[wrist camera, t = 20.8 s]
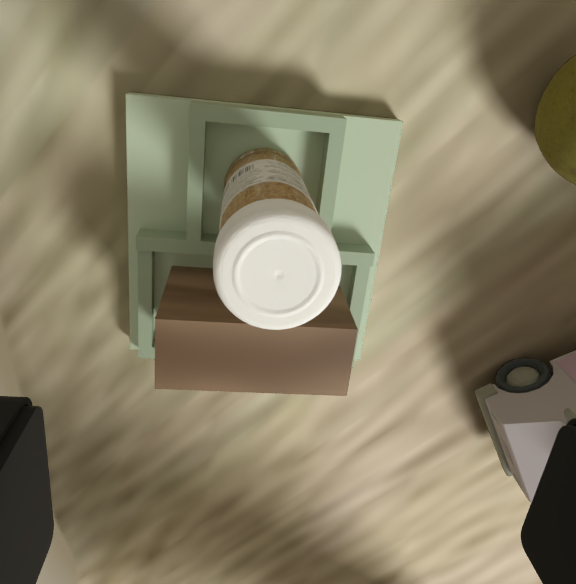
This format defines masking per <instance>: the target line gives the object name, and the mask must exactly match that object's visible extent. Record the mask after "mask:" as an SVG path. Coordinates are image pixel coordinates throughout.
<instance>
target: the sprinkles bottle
mask: <svg viewBox="0 0 576 584" xmlns="http://www.w3.org/2000/svg"><path fill="white" fill-rule="evenodd" d="M213 278H214V283H215V287H216V290H217V293H218V295H219V297H220V299H221V300H222V302H223V303H224V305H225V306H226V307H227V308H228V310H229V311H230V312H231V313H233V314H234V315H235V316H236V317H238V318H239V319H241V320H242V321H244V322H246V323H248V324H250V325H252V326H256V327H259V328H263V329H271V330H281V329H289V328H293V327H296V326H299V325H302V324H304V323H306V322H308V321H310V320H312V319H313V318H315V317H316V316H317V315H319V314H320V313H321V312H322V311H323V310H324V309H325V308H326V307H327V306H328V305H329V303H330V302H331V300H332V299H333V297H334V295H335V293H336V291H337V289H338V286H339V282H340V278H341V258H340V253H339V250H338V247H337V244H336V242H335V239H334V237H333V235H332V233H331V231H330V229H329V227H328V226H327V224H326V223H325V221H324V220H323V219H322V218H321V217H320V216H319V215H318V212H317V210H316V208H315V205H314V203H313V201H312V199H311V197H310V195H309V193H308V191H307V189H306V186H305V184H304V182H303V180H302V178H301V174H300V171H299V169H298V168H297V167H296V165H295V163H294V162H293V161H292V160H291V159H290V158H289V157H288V156H287V155H285V154H283V153H282V152H280V151H278V150H273V149H270V148H258V149H252V150H250V151H247V152H245V153H244V154H242V155H240V156H239V157H238V158H237V159H236V160H235V161H234V162H233V163H232V164H231V165H230V167H229V169H228V171H227V173H226V176H225V180H224V193H223V200H222V207H221V216H220V226H219V234H218V237H217V240H216V243H215V249H214V257H213Z"/></svg>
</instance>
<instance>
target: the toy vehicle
mask: <svg viewBox="0 0 576 584" xmlns="http://www.w3.org/2000/svg"><path fill="white" fill-rule="evenodd" d="M550 365H551V369H552V372H551V371H550V369H549V367H548V366H547V365H546V364H545V363H543V362H541V361H539V360H537V359H533V358H519V359H515V360H512V361H510V362H508V363H506V364H504V365H503V366H502V367H501V368H500V369H499V370H498V373H497V375H496V385H495V384H493V385H492V384H491V383H490V384H488V385H486V386H483V387H481V388H479V389H476V390H475V395H476V398H477V400H478V403H479V406H480V408H481V411H482V414H483V416H484V419H485V422H486V424H487V427H488V430H489V433H490V435H491V438H492V441H493V443H494V446H495V449H496V451H497V454H498V457H499V459H500V462H501V465H502V467H503V470H504V471H505V473H506V475H507V476H512V475H513V477H514V478H515V480H516V481H517V483H518V484H519V486H520V488H521V489H522V491H523V492H524V494H525V496H526V497H527V499H528V500H529V501H530V502H532V500H533V497H534V495H535V492H536V489H537V487H538V484H539V482H540V479H541V476H542V474H543V471H544V468H545V466H546V463H547V460H548V458H549V455H550V452H551V450H552V447H553V444H554V442H555V439H556V436H557V434H558V431H559V430H560V428H561V427H562V426H566V424H567V423H568V422H569V421H570V420H571V419H574V418H576V350H575V351H573V352H570V353H568V354H565V355H563V356H561V357H558V358H556V359H553V360H551V361H550ZM552 374H553V375H552Z"/></svg>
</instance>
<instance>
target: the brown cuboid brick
mask: <svg viewBox="0 0 576 584" xmlns="http://www.w3.org/2000/svg"><path fill="white" fill-rule="evenodd" d="M357 332H358V328H357V326H356V324H355V321H354V319H353V316H352V314H351V311H350V309H349V307H348V304H347V302H346V299H345V297H344V294H343V292H342V290H341V287H340V285H339V286H338V289H337V291H336V293H335V295H334V297H333V299H332V300H331V302H330V303H329V305H328V306H327V307H326V308H325V309H324V310H323V311H322V312H321V313H320V314H319V315H317V316H316V317H315V318H313V319H312V320H310V321H308V322H306V323H304V324H302V325H299V326H296V327H293V328H289V329H281V330H271V329H263V328H259V327H256V326H252V325H250V324H248V323H246V322H244V321H242V320H241V319H239V318H238V317H236V316H235V315H234V314H233V313H231V312H230V311H229V310H228V308H227V307H226V306H225V305H224V303H223V302H222V300H221V299H220V297H219V295H218V293H217V290H216V287H215V283H214V278H213V268H200V267H184V266H172V267H171V270H170V273H169V276H168V279H167V283H166V286H165V289H164V292H163V295H162V298H161V301H160V304H159V308H158V311H157V314H156V317H155V389H177V390H203V391H230V392H256V393H283V394H309V395H336V396H347V391H348V385H349V379H350V373H351V367H352V361H353V356H354V350H355V344H356V338H357Z"/></svg>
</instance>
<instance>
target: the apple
mask: <svg viewBox="0 0 576 584" xmlns="http://www.w3.org/2000/svg"><path fill="white" fill-rule="evenodd" d="M535 136H536V141H537V144H538V146H539V148H540V151H541V152H542V154H543V156H544V158H545V159H546V160H547V162H548V163H549V164H550V166H551V167H552V168H553V169H554V170H555V171H556V172H557V173H558V174H559V175H561V176H562V177H564V178H565V179H566V180H568V181H569V182H571V183H573V184H575V185H576V55H575V56H574V57H572V58H571V59H570V60H568V61H567V62H566V63H565V64H564V65H563V66H562V67H561V68H560V69H559V70H558V71H557V72H556V74H555V75H554V76H553V78H552V79H551V81H550V82H549V84H548V86H547V87H546V89H545V91H544V93H543V95H542V98H541V100H540V103H539V106H538V108H537V113H536V119H535Z"/></svg>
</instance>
